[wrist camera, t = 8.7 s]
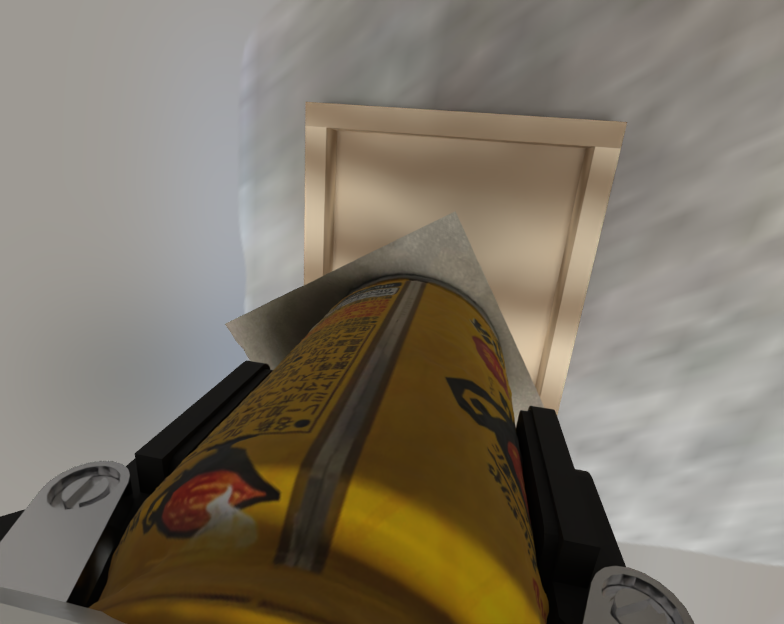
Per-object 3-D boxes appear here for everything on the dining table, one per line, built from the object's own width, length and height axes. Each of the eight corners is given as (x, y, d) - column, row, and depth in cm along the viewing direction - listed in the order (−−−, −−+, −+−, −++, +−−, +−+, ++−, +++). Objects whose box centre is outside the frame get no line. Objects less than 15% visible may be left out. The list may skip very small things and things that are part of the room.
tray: (321, 108, 25) (305, 101, 23) (611, 126, 23) (627, 122, 21) (315, 381, 31) (302, 398, 29) (544, 419, 29) (550, 440, 27)
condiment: (550, 418, 14) (886, 1523, 3) (330, 486, 16) (13, 1191, 5) (455, 209, 12) (261, 678, 1) (230, 320, 15) (-545, 805, 4)
